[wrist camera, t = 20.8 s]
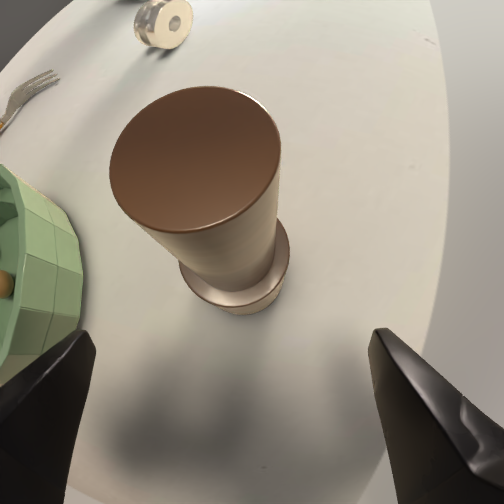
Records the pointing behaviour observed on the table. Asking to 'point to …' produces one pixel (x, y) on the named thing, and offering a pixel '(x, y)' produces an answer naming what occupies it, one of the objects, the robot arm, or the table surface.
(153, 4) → the metal grooved wheel
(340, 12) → the table surface
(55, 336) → the bowl
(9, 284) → the bead
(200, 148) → the brown stepped cylinder
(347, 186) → the table surface
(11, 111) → the fork
